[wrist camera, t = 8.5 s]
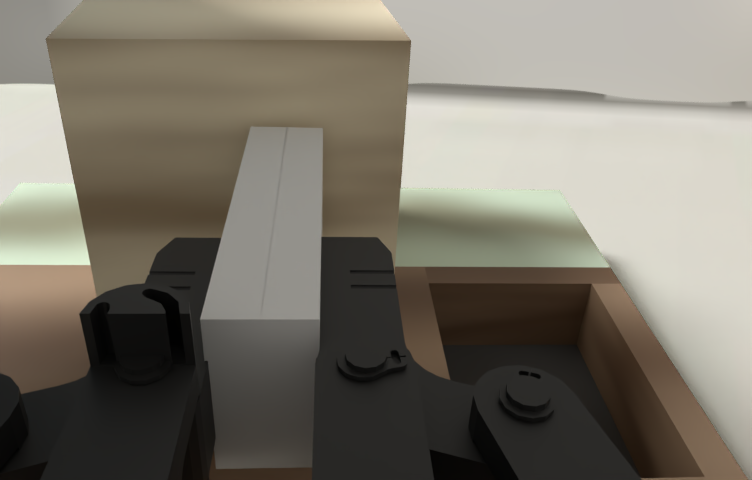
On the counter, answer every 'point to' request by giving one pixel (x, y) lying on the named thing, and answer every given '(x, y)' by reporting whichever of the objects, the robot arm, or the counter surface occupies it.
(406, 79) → the block
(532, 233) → the board
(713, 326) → the counter surface
